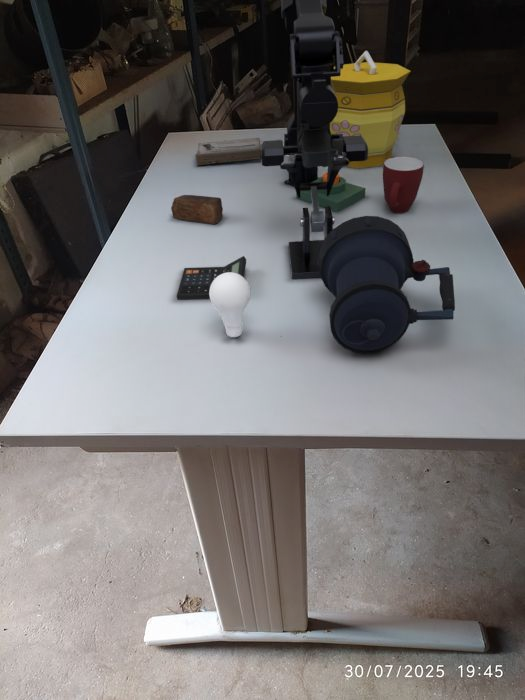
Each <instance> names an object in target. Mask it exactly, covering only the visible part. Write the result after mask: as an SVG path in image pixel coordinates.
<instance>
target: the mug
mask: <svg viewBox="0 0 525 700" xmlns="http://www.w3.org/2000/svg"><path fill="white" fill-rule="evenodd" d="M424 168H425V163H424V162H423V160H421V159H419V158H416V157H412V156H395V157H392V158H390V159H387V160H386V161H385V162H384V164H383V165H382V187H383V196H384V201H385V203H386V206H387V208H388V210H389V211H390V212H391V213H393V214H404V213H407V212H408V211H409V210H410V209H411V207H412V206H413V204H414V203H415V201H416V198H417V196H418V193H419V190H420V186H421V184H422V179H423V176H424V170H425V169H424Z"/></svg>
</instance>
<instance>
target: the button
mask: <svg viewBox="0 0 525 700" xmlns="http://www.w3.org/2000/svg"><path fill="white" fill-rule="evenodd" d="M322 177H323V182H327V172H324V173H323V174H322ZM339 177H340V174H339V173H338V175H337V176H336V179H335V181H334V184H337V183H339ZM334 184H333V185H334Z"/></svg>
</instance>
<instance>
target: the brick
mask: <svg viewBox="0 0 525 700" xmlns="http://www.w3.org/2000/svg"><path fill="white" fill-rule="evenodd" d="M170 210H171V214H172V217H173V218H174V219H177V220H179V221H185V222H194V223H200V224H209V225H217V224H218V223H219V222H220V220H221V219H223V210H224V209H223V202H222V198H221V197H219V196H218V197H216V196H207V195H196V194H195V195H194V194H183V195H179V196H177V197H174V199H173V201H172V203H171V207H170Z"/></svg>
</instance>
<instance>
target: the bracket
mask: <svg viewBox="0 0 525 700" xmlns="http://www.w3.org/2000/svg"><path fill="white" fill-rule="evenodd" d="M301 210H302V213H301V214H302V217H301V218H300V219H299V223H300V224H299V226H300V227H302V240H297V241H296V240H295V241H288V255H289V263H290V272H291V280H301V279H304V280H305V279H322V278H321V270H320V268H319V267H318V264H317V261H318V259H319V254H320V248H321V245H322V243H323V241H324V239H325V238H326V236H327V235H328V234H329V233H330V232H331V231H332V230H333V229H334V225H335V223H336V221H335V219H336V218H335V216H334V215H333V211H332V210H331V207H330V206H327V207H325V208H324V222H325V223H324V232H323V239H318V240H317V239H315V240H311V222H310V219H311V215H310V210H309V207H302V209H301Z"/></svg>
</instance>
